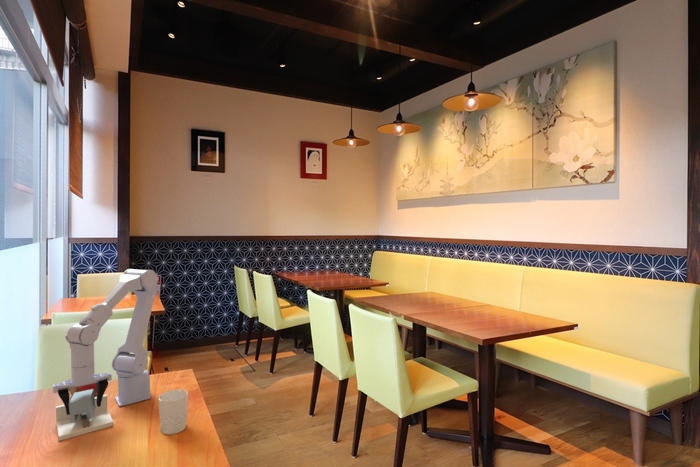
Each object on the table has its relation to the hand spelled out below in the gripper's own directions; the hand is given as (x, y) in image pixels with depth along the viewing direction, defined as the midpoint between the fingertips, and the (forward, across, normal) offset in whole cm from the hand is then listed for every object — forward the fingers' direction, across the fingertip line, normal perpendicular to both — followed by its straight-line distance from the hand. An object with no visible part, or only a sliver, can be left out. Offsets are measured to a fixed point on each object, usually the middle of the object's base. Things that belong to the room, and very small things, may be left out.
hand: (83, 409), depth 120 cm
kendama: (+4, -3, -26) cm, 26 cm away
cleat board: (+4, 0, +1) cm, 4 cm away
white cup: (+4, -19, +21) cm, 29 cm away
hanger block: (+1, 0, +1) cm, 2 cm away
